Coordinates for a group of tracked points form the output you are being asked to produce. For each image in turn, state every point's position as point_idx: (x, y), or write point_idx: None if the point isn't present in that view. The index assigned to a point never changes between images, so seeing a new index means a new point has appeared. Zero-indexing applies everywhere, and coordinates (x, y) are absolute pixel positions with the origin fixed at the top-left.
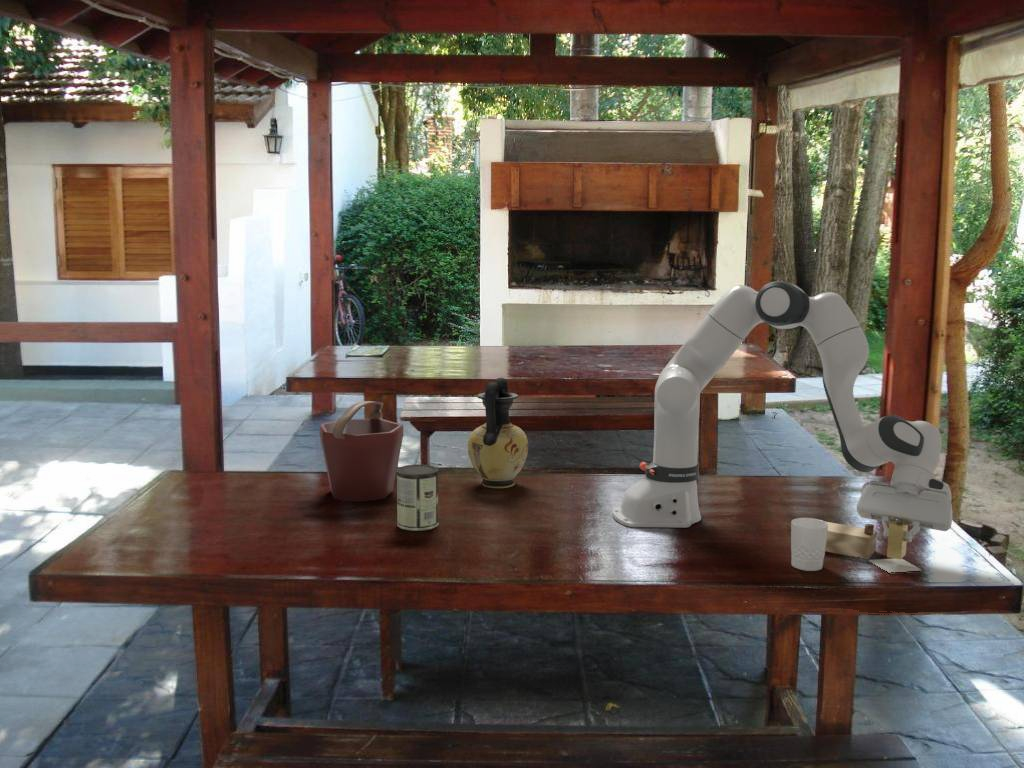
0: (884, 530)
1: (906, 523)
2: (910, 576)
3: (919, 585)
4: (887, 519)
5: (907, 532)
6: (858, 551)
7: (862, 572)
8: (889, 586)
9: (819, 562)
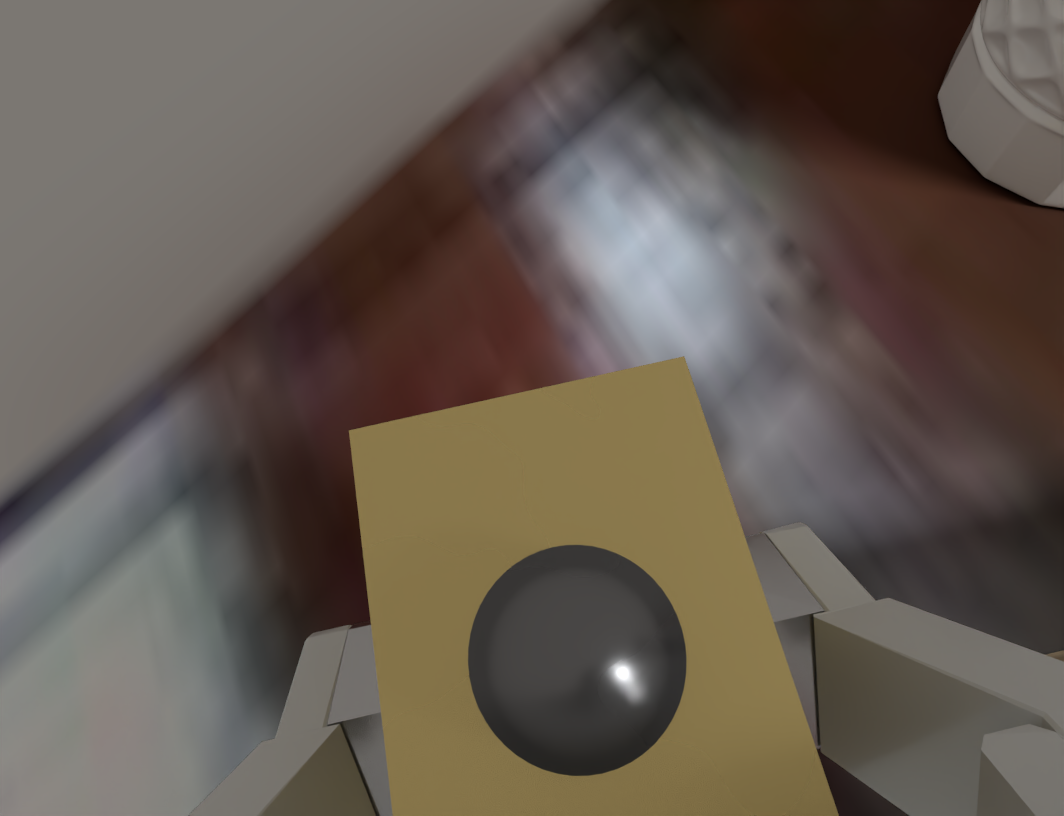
0: (824, 556)
1: (392, 812)
2: (353, 516)
3: (222, 366)
4: (1019, 772)
5: (368, 690)
6: (1060, 657)
7: (697, 302)
8: (394, 193)
9: (966, 45)
